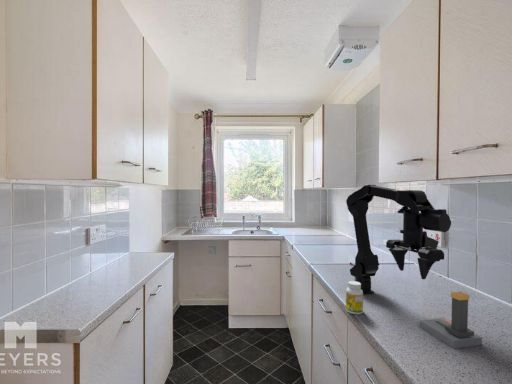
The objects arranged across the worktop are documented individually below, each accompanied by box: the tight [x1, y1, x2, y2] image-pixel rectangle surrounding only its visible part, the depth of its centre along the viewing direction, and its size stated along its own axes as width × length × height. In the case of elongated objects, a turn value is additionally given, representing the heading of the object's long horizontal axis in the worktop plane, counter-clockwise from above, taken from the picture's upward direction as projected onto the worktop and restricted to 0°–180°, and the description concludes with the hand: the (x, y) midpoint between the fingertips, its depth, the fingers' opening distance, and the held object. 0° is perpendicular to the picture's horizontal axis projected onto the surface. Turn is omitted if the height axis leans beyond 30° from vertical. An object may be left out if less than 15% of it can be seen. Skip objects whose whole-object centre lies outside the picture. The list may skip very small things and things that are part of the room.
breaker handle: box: [445, 291, 475, 337], centre depth 72 cm, size 4×5×11 cm
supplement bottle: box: [345, 280, 364, 315], centre depth 89 cm, size 5×5×10 cm
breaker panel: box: [419, 317, 483, 349], centre depth 75 cm, size 11×9×2 cm
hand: (412, 274), depth 88 cm, fingers open, 9 cm apart
